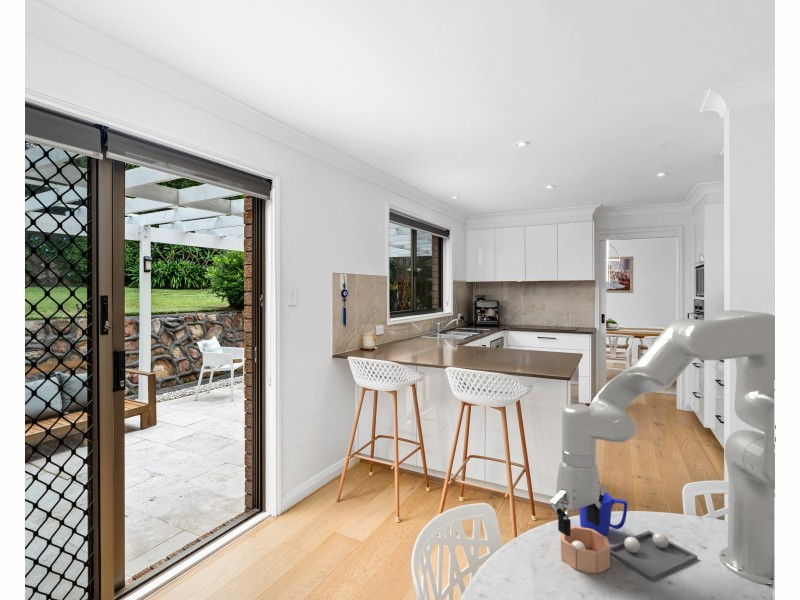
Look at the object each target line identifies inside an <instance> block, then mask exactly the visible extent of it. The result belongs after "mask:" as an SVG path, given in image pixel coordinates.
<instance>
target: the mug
mask: <svg viewBox="0 0 800 600" xmlns="http://www.w3.org/2000/svg"><path fill="white" fill-rule="evenodd" d="M603 496H604V498H603V500H602V502H601V508H600V509H599V525H598V526H597V525H595V524H593V523H591V522H590V521H588V520H587V506H585V507H582V508H579V509H578V512H579V524H580V527H583V528H590V529H593V530H595V531H597V532H598V533H600V534H602V535H603V536H605V537H607V535H608V534H609V531H610V528H612V529H614V530H619V529H621V528H623V526H624V525H625V523H626V518H627V512H628V501H626V500H625V499H619V498H612V496H611V495H610V494H609V493H608V492H606V491H605V493H604V495H603ZM614 504H623V511H622V517H621V520H620V522H619V523H618V524H611V521H612V520H611V518H612V511H613V510H612V509H613V506H614Z"/></svg>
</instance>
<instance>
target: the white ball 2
mask: <svg viewBox="0 0 800 600" xmlns="http://www.w3.org/2000/svg"><path fill="white" fill-rule="evenodd" d="M624 540H625V541H624ZM624 540H623V541H624V545H625V548H626V549H627V550H628V551H629V552H631V553H636V552H638V551H639V550H640V543H639V541H638V540H637V539H636V538H634V536H626V537H625V538H624Z"/></svg>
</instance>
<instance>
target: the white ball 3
mask: <svg viewBox="0 0 800 600" xmlns="http://www.w3.org/2000/svg"><path fill="white" fill-rule="evenodd" d="M654 533H655V534H654V535H653V538H652V539H653V542H654V544H655V545H656V546H657V547H659V548H666V547H667V546H668V544H669V541H670V540H669V538H668V537H667V535H666V534H665V533H663V532H660V531H659V532H654Z"/></svg>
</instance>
